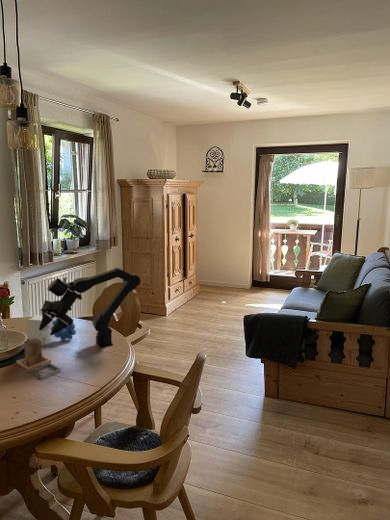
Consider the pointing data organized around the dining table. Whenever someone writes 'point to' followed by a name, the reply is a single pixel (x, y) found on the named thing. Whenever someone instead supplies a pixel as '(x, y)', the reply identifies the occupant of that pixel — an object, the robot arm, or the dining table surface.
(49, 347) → the dining table surface
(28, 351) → the walnut plug block
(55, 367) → the grey metal socket
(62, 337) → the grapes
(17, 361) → the terracotta socket
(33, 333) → the supplement box
